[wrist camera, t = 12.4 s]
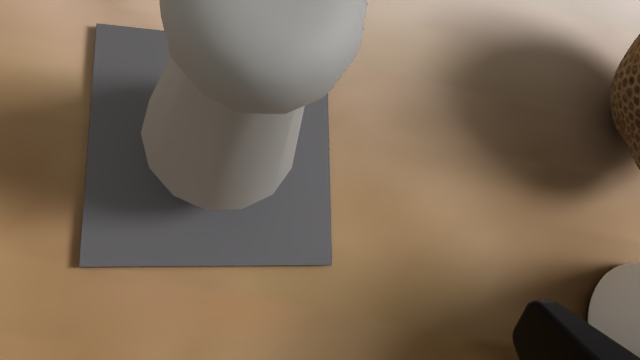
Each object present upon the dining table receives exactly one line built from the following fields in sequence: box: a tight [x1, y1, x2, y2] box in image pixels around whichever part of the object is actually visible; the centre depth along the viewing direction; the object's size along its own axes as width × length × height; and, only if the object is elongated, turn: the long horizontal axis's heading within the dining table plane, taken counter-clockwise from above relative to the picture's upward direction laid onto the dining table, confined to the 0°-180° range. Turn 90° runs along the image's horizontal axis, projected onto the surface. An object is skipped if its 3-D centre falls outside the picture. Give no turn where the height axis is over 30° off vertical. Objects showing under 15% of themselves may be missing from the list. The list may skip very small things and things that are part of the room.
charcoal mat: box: [79, 24, 332, 267], centre depth 23 cm, size 10×10×1 cm
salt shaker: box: [141, 0, 368, 210], centre depth 16 cm, size 6×6×13 cm
